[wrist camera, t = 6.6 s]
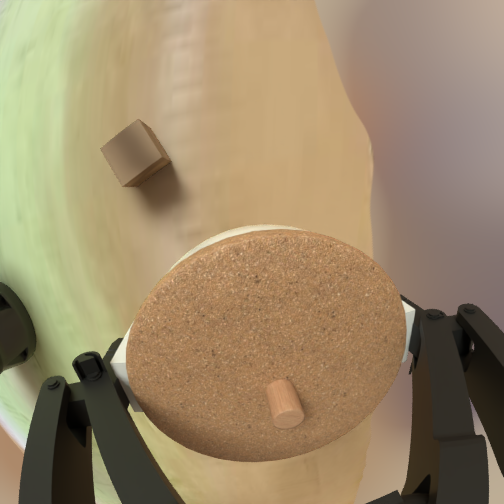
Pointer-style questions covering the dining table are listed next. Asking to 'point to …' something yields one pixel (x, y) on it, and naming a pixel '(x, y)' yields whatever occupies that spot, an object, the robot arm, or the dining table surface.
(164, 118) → the dining table surface
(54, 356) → the dining table surface
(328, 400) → the lidded jar
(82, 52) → the dining table surface
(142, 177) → the cube walnut
